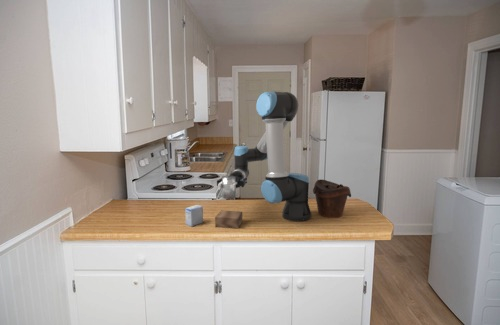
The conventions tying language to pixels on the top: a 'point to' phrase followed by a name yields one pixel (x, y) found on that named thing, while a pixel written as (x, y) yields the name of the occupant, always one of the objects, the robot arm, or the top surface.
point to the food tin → (228, 187)
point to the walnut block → (228, 219)
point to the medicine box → (194, 215)
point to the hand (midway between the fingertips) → (226, 187)
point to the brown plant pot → (330, 198)
